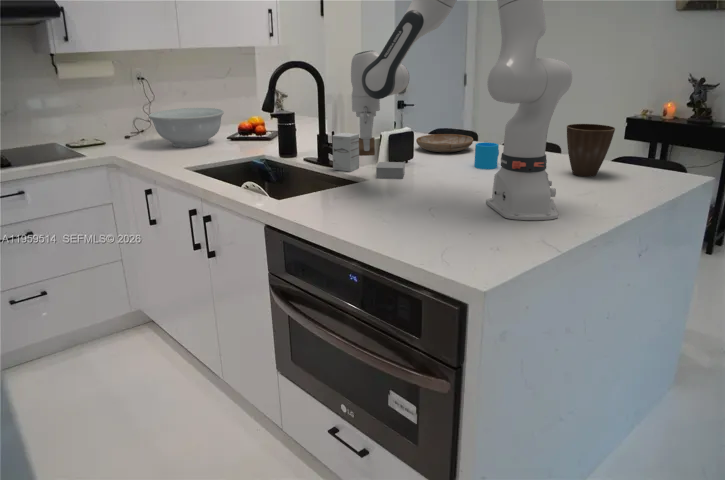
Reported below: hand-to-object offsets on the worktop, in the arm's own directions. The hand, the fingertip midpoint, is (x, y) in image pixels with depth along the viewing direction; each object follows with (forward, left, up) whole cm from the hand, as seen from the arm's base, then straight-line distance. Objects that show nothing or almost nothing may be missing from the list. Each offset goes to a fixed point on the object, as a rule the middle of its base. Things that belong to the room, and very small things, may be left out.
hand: (367, 149), depth 178 cm
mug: (+23, -44, -11) cm, 51 cm away
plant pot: (+9, -74, -11) cm, 75 cm away
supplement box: (+19, +8, -11) cm, 23 cm away
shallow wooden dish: (+54, -31, -11) cm, 63 cm away
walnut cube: (0, 0, -2) cm, 2 cm away
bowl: (+71, +83, -11) cm, 110 cm away
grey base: (+9, -8, -11) cm, 16 cm away
